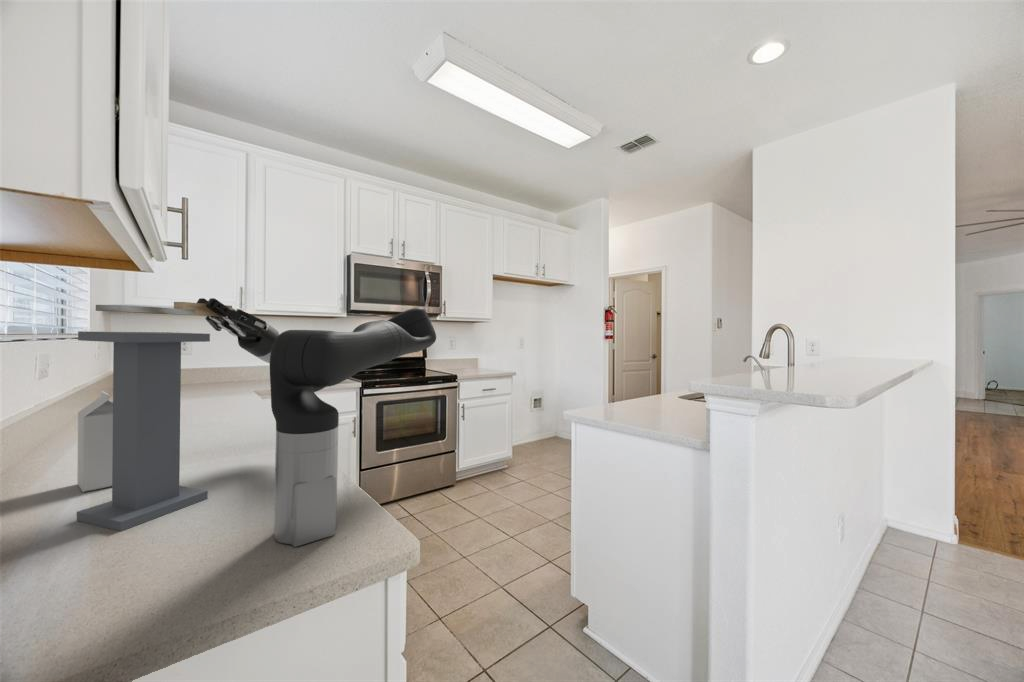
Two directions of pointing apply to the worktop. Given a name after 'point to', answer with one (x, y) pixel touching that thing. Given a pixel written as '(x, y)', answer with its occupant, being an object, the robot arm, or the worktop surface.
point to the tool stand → (144, 429)
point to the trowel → (164, 309)
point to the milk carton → (95, 444)
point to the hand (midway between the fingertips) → (204, 302)
